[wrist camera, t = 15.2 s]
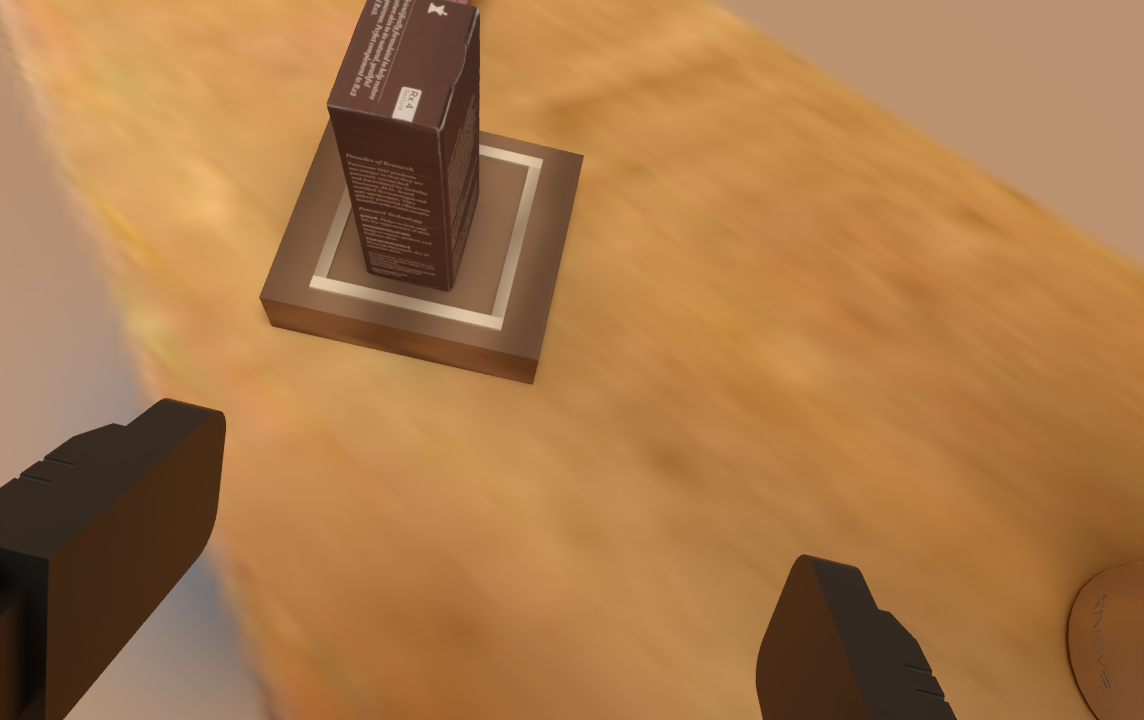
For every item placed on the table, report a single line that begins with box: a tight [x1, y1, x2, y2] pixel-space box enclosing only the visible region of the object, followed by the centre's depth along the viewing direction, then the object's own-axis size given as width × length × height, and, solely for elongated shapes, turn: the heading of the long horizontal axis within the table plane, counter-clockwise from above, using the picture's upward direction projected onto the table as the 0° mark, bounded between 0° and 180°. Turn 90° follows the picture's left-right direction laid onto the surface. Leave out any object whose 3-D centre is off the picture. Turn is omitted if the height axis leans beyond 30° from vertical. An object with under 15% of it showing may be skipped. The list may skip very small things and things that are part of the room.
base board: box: [259, 119, 584, 384], centre depth 42 cm, size 13×12×3 cm
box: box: [327, 0, 480, 290], centre depth 35 cm, size 6×4×12 cm
